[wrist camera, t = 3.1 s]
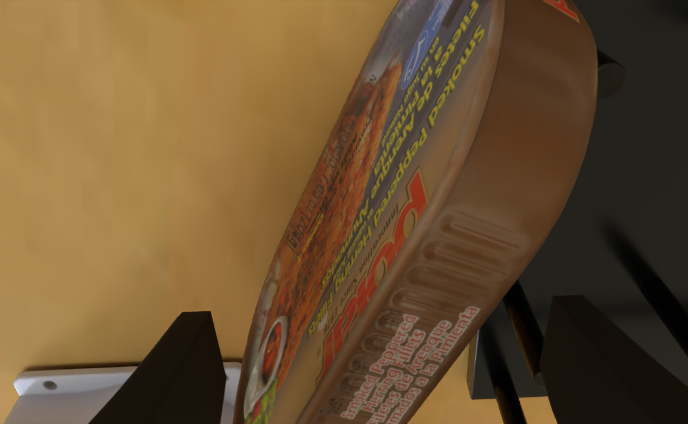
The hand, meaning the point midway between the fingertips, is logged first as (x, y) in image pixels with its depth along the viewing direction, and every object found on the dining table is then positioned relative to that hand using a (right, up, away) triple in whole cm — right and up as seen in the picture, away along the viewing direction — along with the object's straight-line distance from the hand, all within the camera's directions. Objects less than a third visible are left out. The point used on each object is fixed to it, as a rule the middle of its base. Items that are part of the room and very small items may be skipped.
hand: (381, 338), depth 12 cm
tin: (0, +4, +6) cm, 8 cm away
